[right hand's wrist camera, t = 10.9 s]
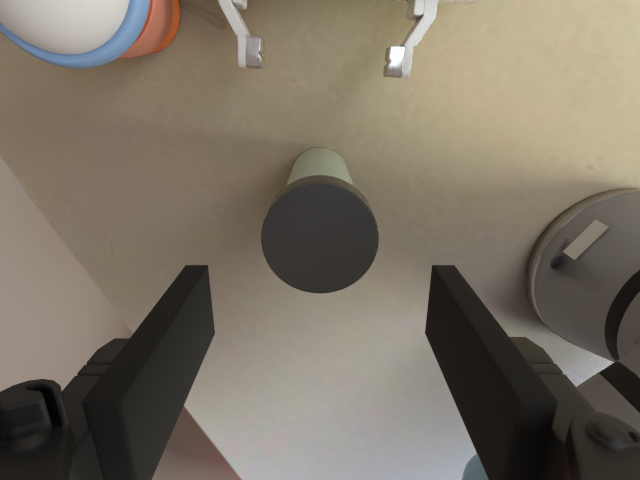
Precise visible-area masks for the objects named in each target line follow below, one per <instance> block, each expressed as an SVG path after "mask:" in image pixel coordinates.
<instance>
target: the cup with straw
mask: <svg viewBox="0 0 640 480" xmlns="http://www.w3.org/2000/svg"><path fill="white" fill-rule="evenodd" d="M179 23H180V6H179V1H178V0H0V30H1V31H2V32H3V34H4V35H6V36H7V37H8V38H9V39H10V40H11V41H12V42H13V43H15V44H16V45H17V46H19V47H20V48H21V49H23V50H24V51H26V52H27V53H29V54H31V55H33V56H35V57H36V58H39V59H41V60H43V61H45V62H48V63H51V64H54V65H58V66H62V67H68V68H91V67H97V66H100V65H104V64H106V63H108V62H111V61H113V60H115V59H118V58H133V57H139V56H143V55H145V54H150V53H155V52H158V51H160V50H162V49H164V48H165V47H166V46H167V45H168V44H170V42H171V41H172V40H173V38H174V37H175V35H176V33H177V30H178V27H179Z"/></svg>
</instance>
